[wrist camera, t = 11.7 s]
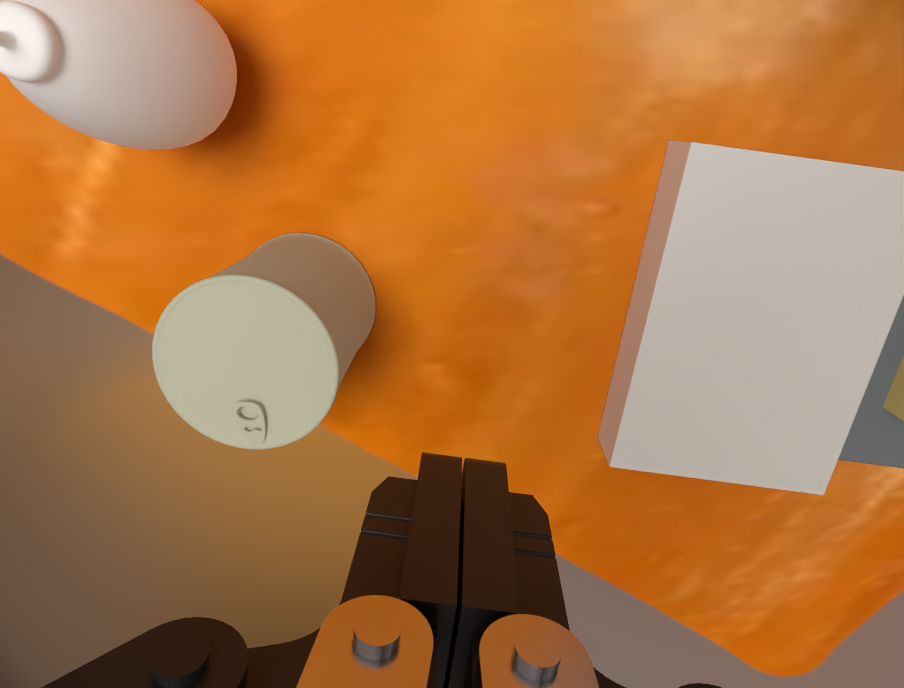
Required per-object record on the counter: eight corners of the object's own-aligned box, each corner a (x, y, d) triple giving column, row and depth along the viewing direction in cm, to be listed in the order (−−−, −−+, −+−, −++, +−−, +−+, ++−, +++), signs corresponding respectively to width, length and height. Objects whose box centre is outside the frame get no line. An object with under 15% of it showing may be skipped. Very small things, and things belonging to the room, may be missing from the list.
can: (249, 368, 42) (167, 458, 31) (226, 235, 39) (124, 281, 27) (382, 364, 41) (347, 453, 30) (368, 229, 38) (325, 272, 27)
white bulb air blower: (278, 29, 35) (91, -63, 18) (247, 163, 37) (59, 195, 20) (144, -22, 34) (-184, -169, 17) (122, 118, 37) (-181, 111, 20)
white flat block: (668, 140, 36) (691, 142, 32) (900, 172, 36) (950, 177, 32) (597, 436, 43) (609, 466, 39) (792, 462, 43) (823, 495, 39)
